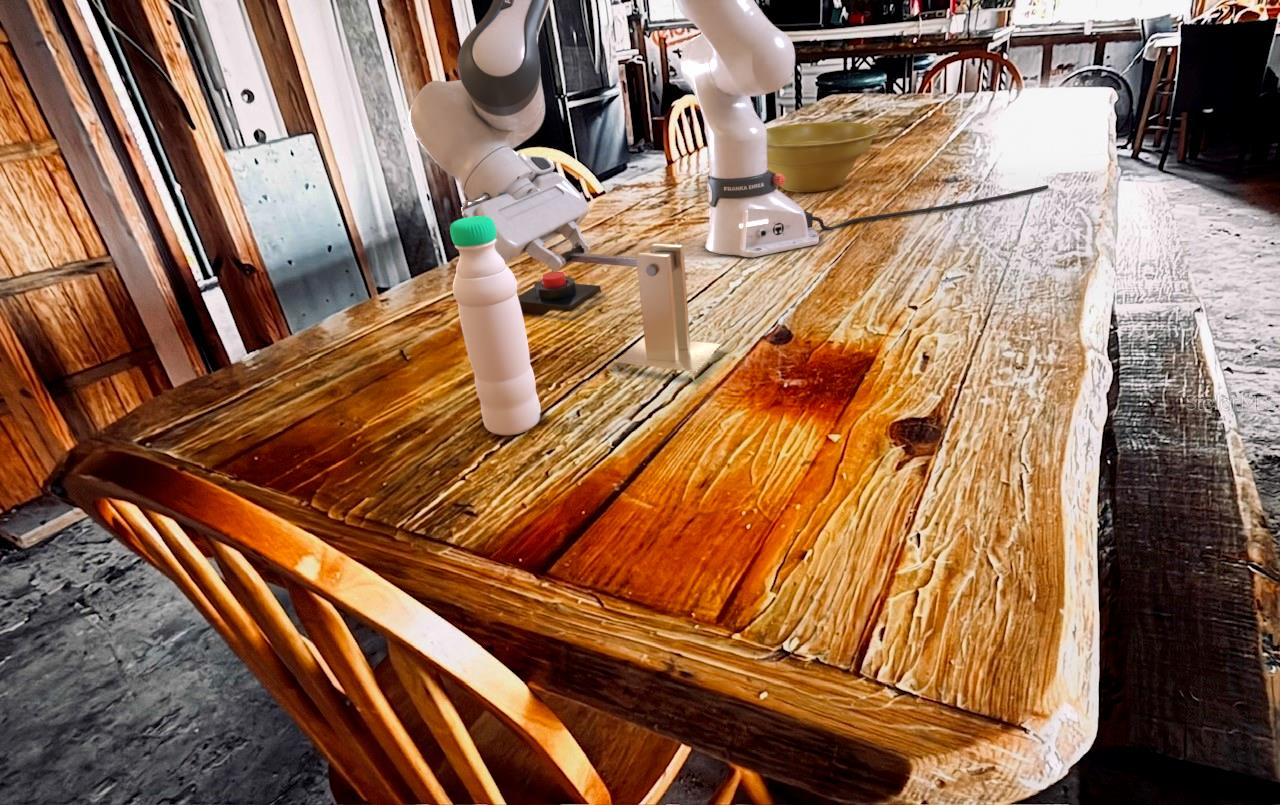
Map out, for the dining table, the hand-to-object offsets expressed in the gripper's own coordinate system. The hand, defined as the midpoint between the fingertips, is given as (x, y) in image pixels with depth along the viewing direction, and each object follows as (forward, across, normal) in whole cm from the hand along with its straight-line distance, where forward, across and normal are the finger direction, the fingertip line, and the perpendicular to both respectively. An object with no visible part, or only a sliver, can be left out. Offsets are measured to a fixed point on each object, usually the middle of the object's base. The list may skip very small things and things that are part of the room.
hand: (573, 260), depth 97 cm
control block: (-1, +16, +20) cm, 26 cm away
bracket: (+19, 0, 0) cm, 19 cm away
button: (-3, +16, +18) cm, 24 cm away
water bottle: (+11, -21, +8) cm, 25 cm away
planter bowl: (+13, +105, +6) cm, 106 cm away
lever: (+5, 0, -4) cm, 7 cm away
